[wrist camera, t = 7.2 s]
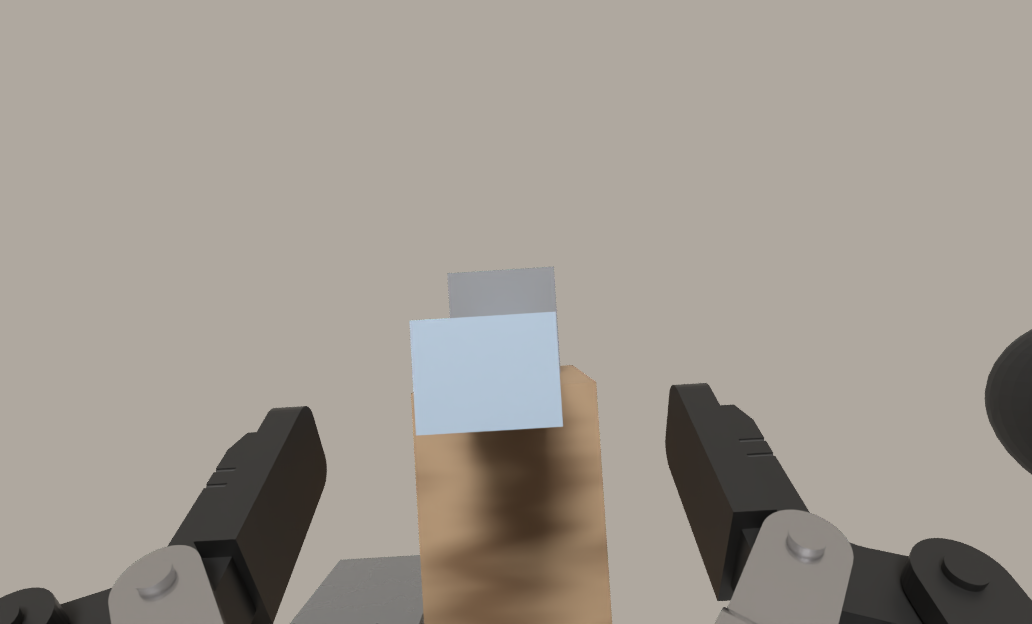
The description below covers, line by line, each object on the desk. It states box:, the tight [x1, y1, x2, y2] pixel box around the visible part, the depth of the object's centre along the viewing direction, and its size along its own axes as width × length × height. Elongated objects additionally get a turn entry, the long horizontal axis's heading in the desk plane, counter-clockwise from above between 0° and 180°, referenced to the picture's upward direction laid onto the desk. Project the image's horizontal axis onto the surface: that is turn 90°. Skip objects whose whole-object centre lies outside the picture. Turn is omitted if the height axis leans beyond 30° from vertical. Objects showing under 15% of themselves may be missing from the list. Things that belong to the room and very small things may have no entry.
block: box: [410, 267, 563, 435], centre depth 22 cm, size 5×19×5 cm, turn 0°
